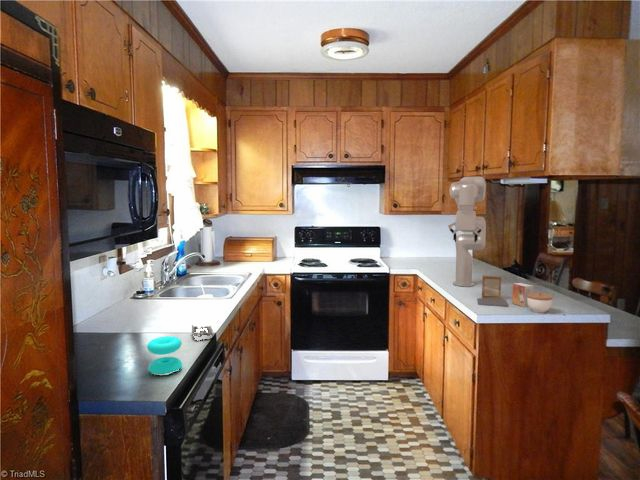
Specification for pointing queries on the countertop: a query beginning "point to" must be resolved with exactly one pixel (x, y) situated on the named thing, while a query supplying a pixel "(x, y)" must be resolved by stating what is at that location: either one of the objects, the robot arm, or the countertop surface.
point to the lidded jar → (539, 302)
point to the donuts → (163, 347)
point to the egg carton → (202, 331)
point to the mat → (492, 302)
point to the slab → (491, 287)
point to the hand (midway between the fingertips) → (465, 241)
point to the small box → (521, 294)
